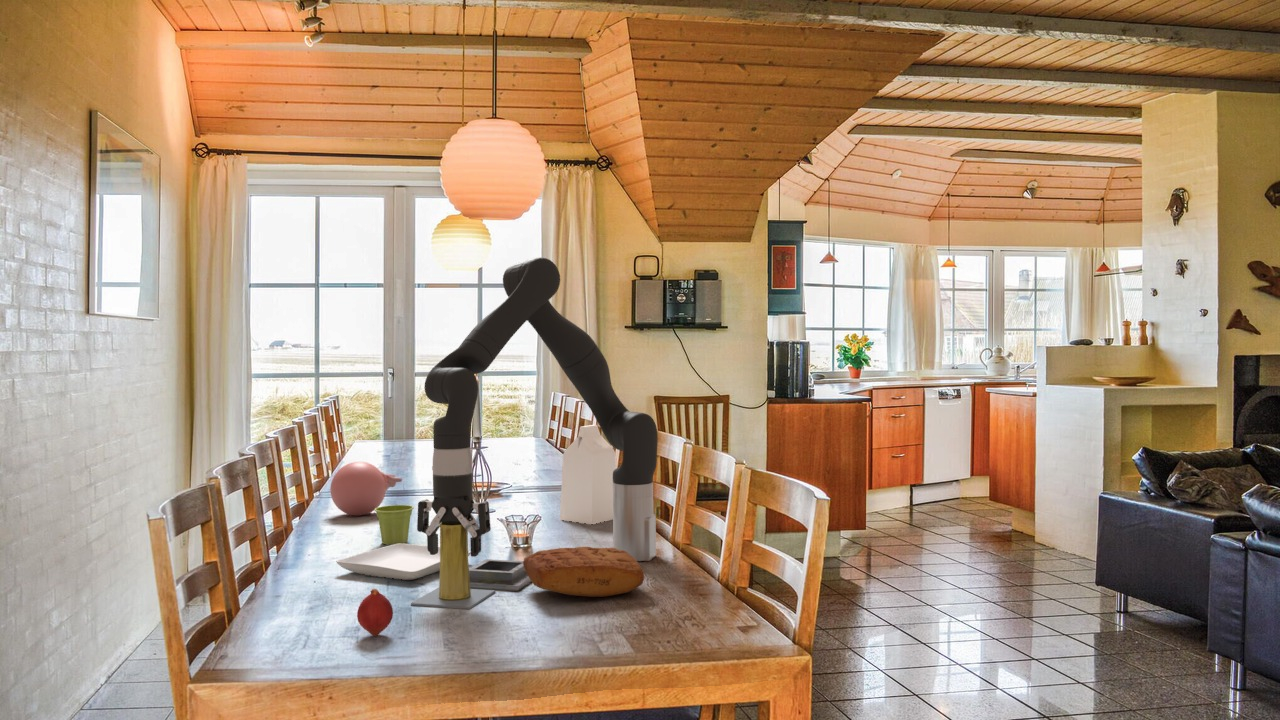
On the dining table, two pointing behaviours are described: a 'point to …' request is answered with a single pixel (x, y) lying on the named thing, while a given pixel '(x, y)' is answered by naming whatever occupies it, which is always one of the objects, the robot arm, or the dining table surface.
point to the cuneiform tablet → (584, 571)
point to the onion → (375, 613)
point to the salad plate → (394, 562)
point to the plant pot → (394, 523)
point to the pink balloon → (360, 488)
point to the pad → (467, 603)
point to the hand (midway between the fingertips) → (454, 554)
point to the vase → (454, 562)
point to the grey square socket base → (499, 575)
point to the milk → (588, 478)
